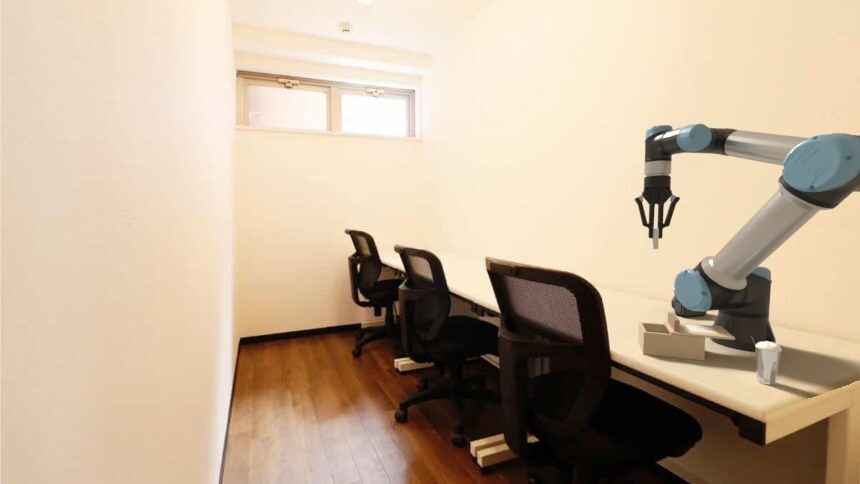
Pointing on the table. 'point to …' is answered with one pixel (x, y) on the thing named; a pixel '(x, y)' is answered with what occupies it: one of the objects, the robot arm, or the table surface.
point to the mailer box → (669, 342)
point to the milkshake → (767, 362)
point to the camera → (683, 308)
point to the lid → (695, 329)
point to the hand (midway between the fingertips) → (654, 248)
